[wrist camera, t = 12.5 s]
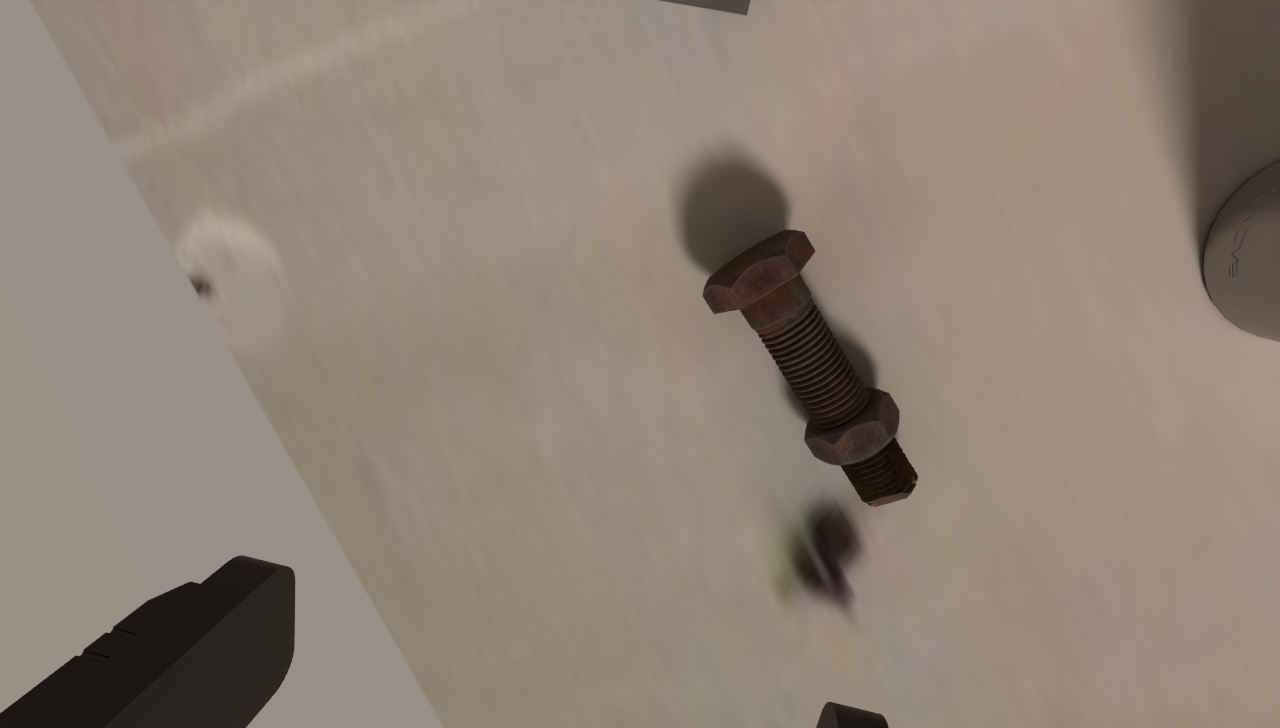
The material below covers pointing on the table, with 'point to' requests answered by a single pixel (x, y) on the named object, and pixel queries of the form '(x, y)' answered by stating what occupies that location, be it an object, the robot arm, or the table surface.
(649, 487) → the table surface
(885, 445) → the bolt
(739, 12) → the plate
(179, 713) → the robot arm
